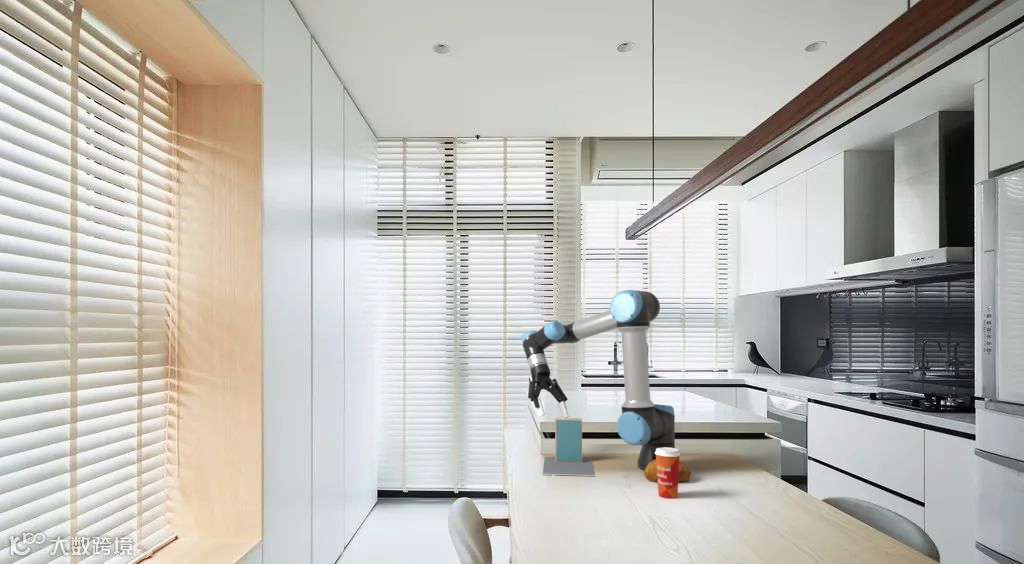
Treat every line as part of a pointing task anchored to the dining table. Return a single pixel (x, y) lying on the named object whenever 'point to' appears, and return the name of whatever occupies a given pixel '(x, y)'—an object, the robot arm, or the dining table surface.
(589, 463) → the mat
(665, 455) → the paper cup
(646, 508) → the dining table surface
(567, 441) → the tile
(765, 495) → the dining table surface
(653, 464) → the croissant
